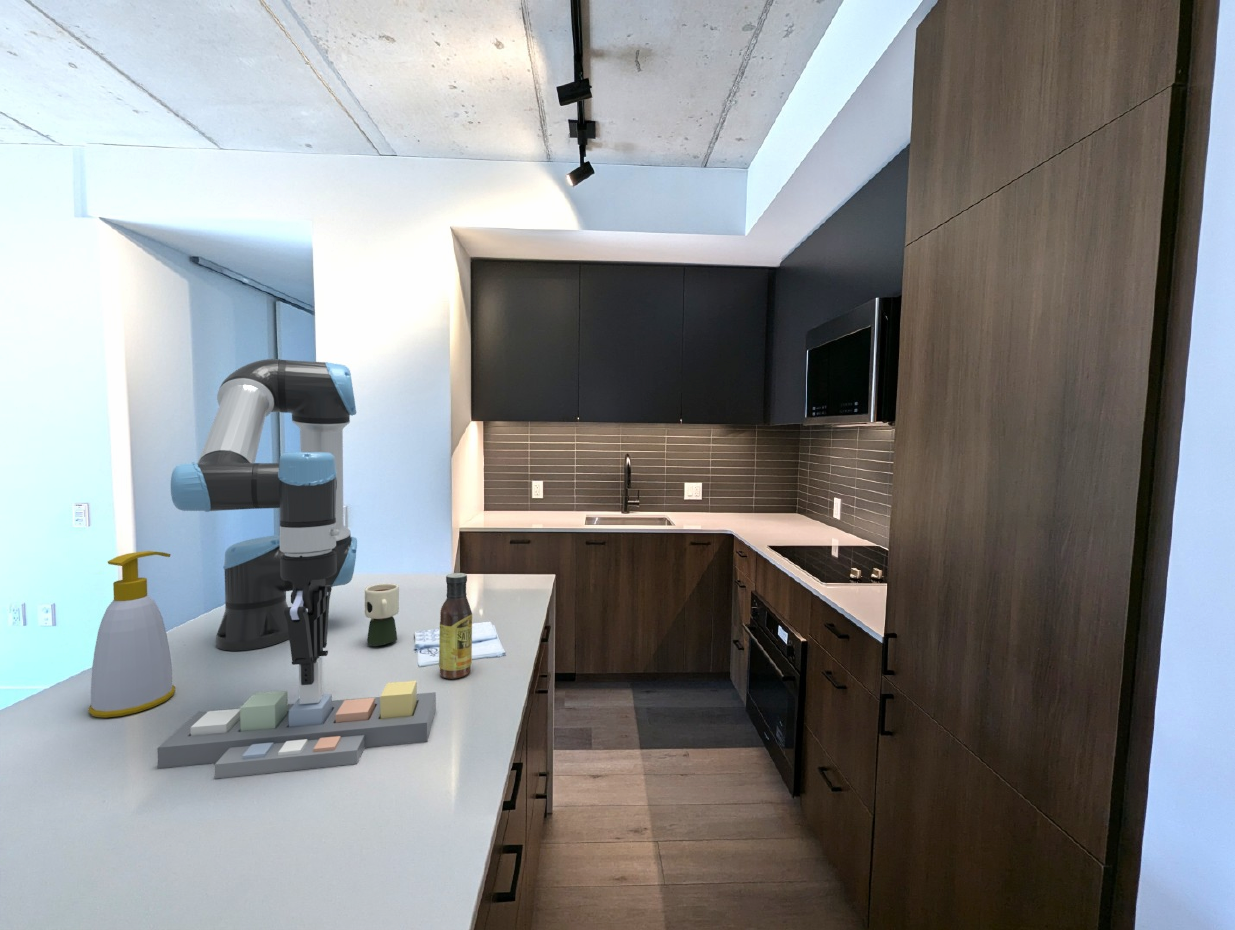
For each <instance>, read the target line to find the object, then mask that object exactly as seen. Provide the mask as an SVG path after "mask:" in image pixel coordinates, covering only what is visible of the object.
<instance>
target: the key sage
mask: <svg viewBox="0 0 1235 930" xmlns="http://www.w3.org/2000/svg"><path fill="white" fill-rule="evenodd" d="M288 704H289V703H288V690H279V691H278V690H277V691H267V692H266V691H264V692H263V691H262V692H255V693H254V694H253V695H251V696H250V697H249V699H247V701H245V702H244V704H243V705H241V706H240V707H239V708H240V720H241V732H243V731H254V730H265V729H276V728H277V727H278V726H279V725H280V723H281V722H282V721H283V720H284V718H285V717H286V716H287V715H288Z"/></svg>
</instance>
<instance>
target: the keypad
mask: <svg viewBox="0 0 1235 930" xmlns="http://www.w3.org/2000/svg"><path fill="white" fill-rule="evenodd" d="M365 698H366V697H362V698H360V697H359V698H358V699H365ZM370 698H375V709H374V711H373V713H372V715H371V717H370V719H369V720H365V721H354V722H342V723H336V717H335V715H336V713H337V711H338V710H339V708H340V707H341V705H342V704H343V702H344V700H345V699H338V700H332V712H331V714H330V715H329V717H328V718H327V720H326V721H325V723H324V724H320V725H309V726H298V727H289V710H290V709H291V708H292V706H293V705H294V704H295V703H290V704H289V703H288V715H287V716H286V717H285V718H284V720H283V721H282V722H281V723H280V725H279V726H278V727H277V728H276V729H265V730H254V731H243V732H241V720H239V721H238V723H237V724H236V725H235V726H234V727H233V728H232V729H231V730H230V731H229V732H228V733H221V734H209V735H198V736H191V726H193V725H194V724H195V723H196V722H197V721H198V720H199V719H200V718H201V717H203V716H204V715H205V714H206V713H207V712H208V711H209V710H202V711H198V712H197V713H196V714H194V715H193V716H192V717H191V718H189V719H188V720H187V721H186V722H185V723H184V724H182V726H181V727H179V728H178V729H176V731H175V732H174V733H172V734H171V735H170V736H169V737H168V738H166V739H165V740H164V741H163V742H162V743H160V744H159V746H158V747H157V750H156V751H157V752H156V753H157V769H165V768H177V767H185V766H194V765H195V766H196V765H206V764H207V765H209V764H214V780H218V779H225V778H226V779H227V778H234V777H244V776H251V775H252V776H253V775H264V774H265V775H266V774H271V773H272V774H274V773H275V774H276V773H283V772H290V771H303V770H310V769H311V770H312V769H321V768H329V767H338V766H349V765H357V764H358V763H359V760H360V758H361V756H362V754H363V751H365V749H366V748H374V747H375V748H376V747H377V748H378V747H384V746H385V747H386V746H394V745H395V746H396V745H406V744H407V745H409V744H414V743H426V742H428V739H429V735H430V732H431V729H432V726H433V725H432V724H433V722H434V718H435V714H436V710H437V692H436V691H434V692H422V693H417V705H416V708H415V710H414V713H413V716H409V717H398V718H387V719H381V696H373V697H371V696H370ZM352 699H353V698H350V699H349V698H346V700H352ZM240 708H241V707H239V708H238V707H237V708H236V709H240ZM231 709H232V708H228V709H224V710H231ZM219 710H220V709H217V710H215V709H214V710H212V711H219Z"/></svg>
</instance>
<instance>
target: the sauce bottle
mask: <svg viewBox="0 0 1235 930" xmlns="http://www.w3.org/2000/svg"><path fill="white" fill-rule="evenodd" d="M445 582H446V593H445V594H446V595H445V596H446V599H445V601H444V602H443V603H442V606H441V608H440V612H439V613H440V619H439V620H440V621H439V628H440V638H439V664H438V668H439V675H440V676H441V677H442V678H443V679H451V680H455V679H460V678H463V677H465V676H467V675H469V674H470V672H471V668H472V667H471V665H472V661H473V660H472V624H473V611H472V609H471V607H470V603H469V600H468V597H467V582H468V575H467V573H463V572H455V573H454V572H453V573H450V574H449V573H448V574H447V575H446V576H445Z"/></svg>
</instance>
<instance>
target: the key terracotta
mask: <svg viewBox="0 0 1235 930" xmlns="http://www.w3.org/2000/svg"><path fill="white" fill-rule="evenodd" d="M364 698H365V699H359V698H351V699H352V700H347V699H343V700H344V702H343V704H342V705H341V707H340V708H339V710H338V711H337V713H336V715H335V717H336V723H342V722H354V721H365V720H369V719H370V717H371V715H372V713H373V711H374V709H375V698H371V697H364Z"/></svg>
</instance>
